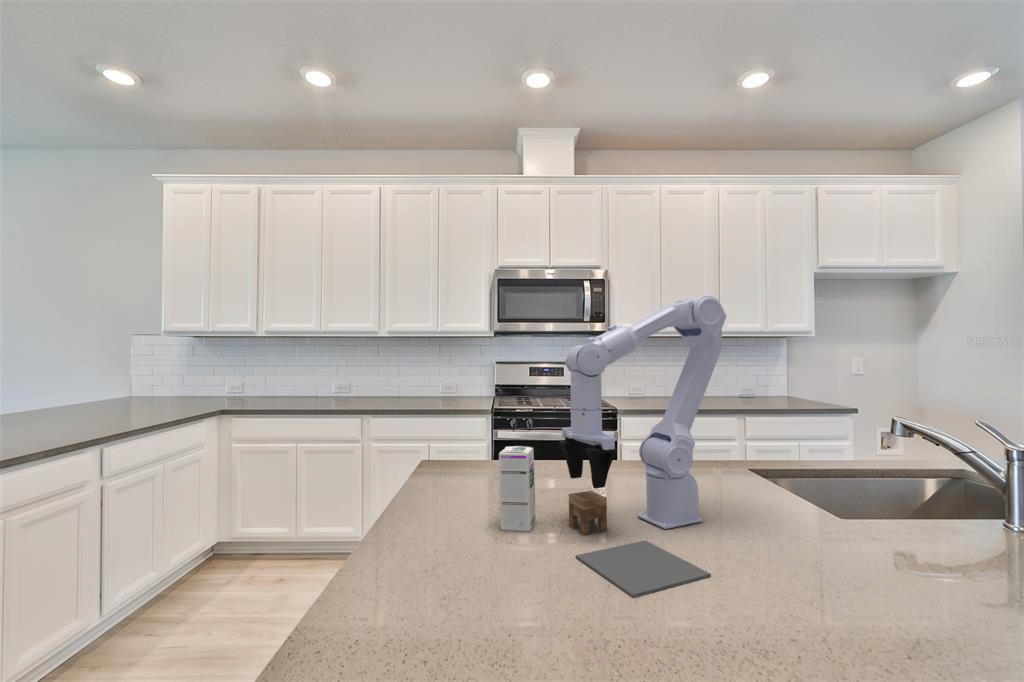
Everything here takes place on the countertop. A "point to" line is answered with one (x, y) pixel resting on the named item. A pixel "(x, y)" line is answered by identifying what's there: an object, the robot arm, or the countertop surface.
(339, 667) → the countertop surface
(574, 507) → the notched brown block
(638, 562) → the mat
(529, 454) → the syrup box
